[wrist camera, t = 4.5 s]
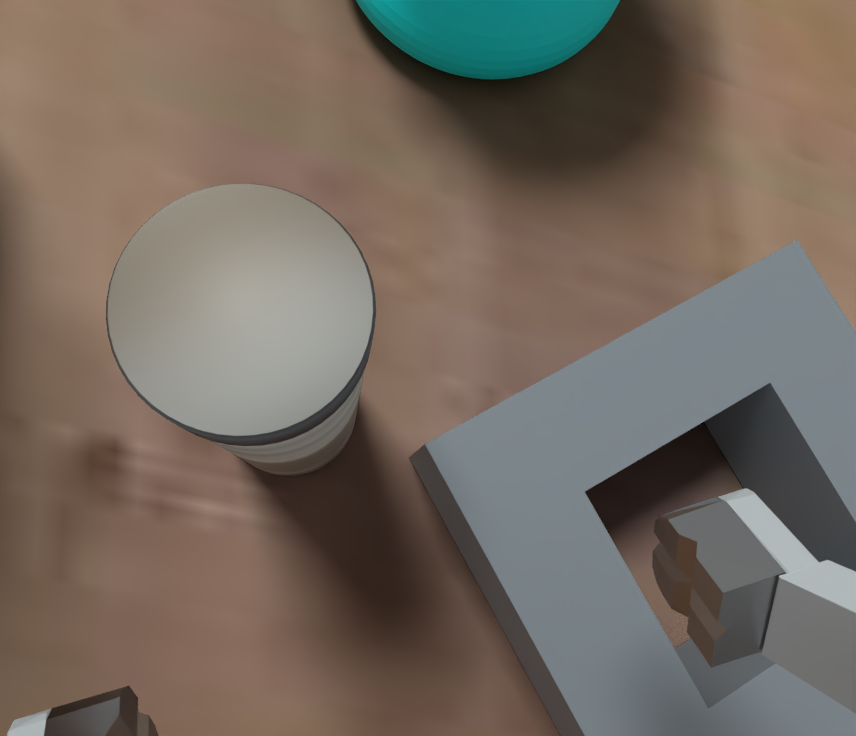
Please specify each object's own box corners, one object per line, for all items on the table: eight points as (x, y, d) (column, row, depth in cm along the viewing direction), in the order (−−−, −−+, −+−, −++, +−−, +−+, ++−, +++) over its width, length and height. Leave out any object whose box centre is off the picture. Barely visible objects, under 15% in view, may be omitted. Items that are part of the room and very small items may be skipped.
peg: (381, 437, 24) (422, 360, 12) (260, 502, 23) (178, 488, 11) (319, 322, 24) (300, 140, 12) (198, 383, 23) (58, 248, 12)
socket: (916, 608, 25) (1042, 627, 20) (607, 821, 22) (673, 896, 18) (719, 286, 26) (797, 239, 22) (409, 457, 24) (424, 443, 19)
